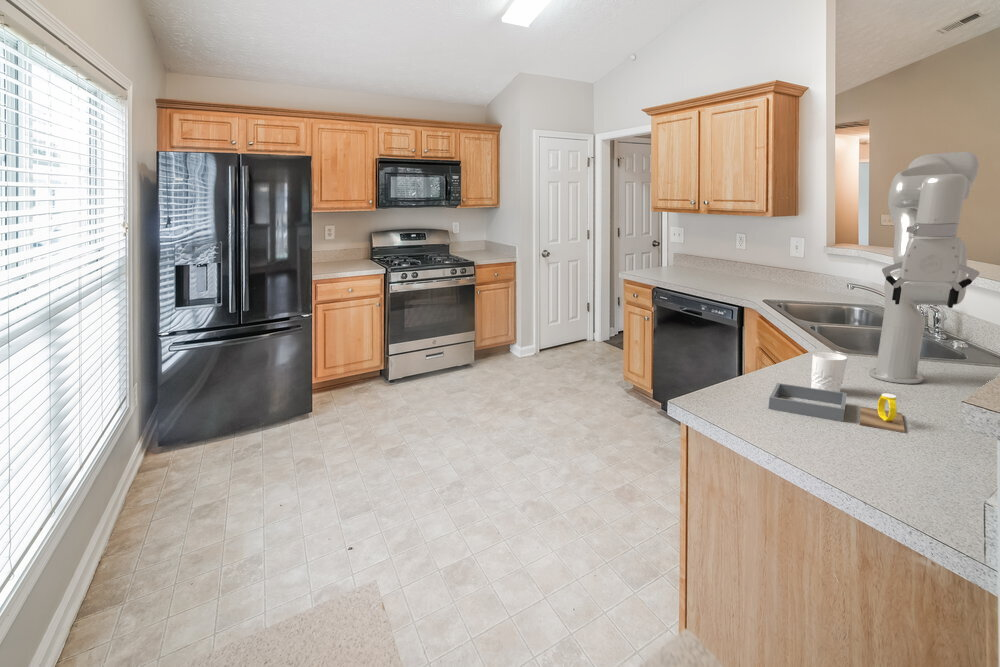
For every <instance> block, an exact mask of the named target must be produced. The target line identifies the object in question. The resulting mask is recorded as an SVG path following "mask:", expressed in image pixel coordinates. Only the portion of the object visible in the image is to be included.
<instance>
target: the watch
mask: <svg viewBox="0 0 1000 667" xmlns="http://www.w3.org/2000/svg"><path fill="white" fill-rule="evenodd" d="M897 397H898V396H896V395H895V394H892V393H882V394H881V396H880V397H879V399H878V401H877V409H878V414H879V417H881V418H882V419H883V420H884V421H889V422H892V421H893V420H894V419H895V417H896V413H897V410H898V409H897V408H898V407H897ZM886 402H888V408H889V409H888V411H889V415H888V417H886V413H885V411H886V408H885V407H886Z"/></svg>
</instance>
